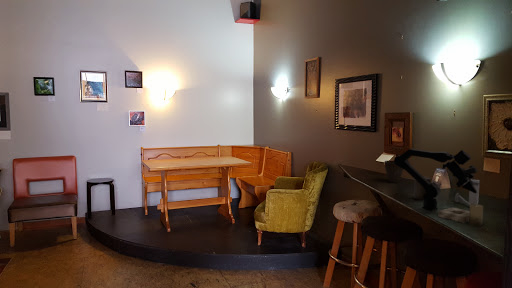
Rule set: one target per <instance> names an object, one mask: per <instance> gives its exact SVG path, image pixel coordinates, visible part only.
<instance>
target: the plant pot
mask: <svg viewBox="0 0 512 288" xmlns="http://www.w3.org/2000/svg"><path fill="white" fill-rule="evenodd" d="M384 168H385V172H386V176H387V180H388V182H389V183H395V184H396V183H399V182H400V181H401V177H402V174H403V171H404V169H402V168H400V167H399V166H397V165H396V164H395V163H394V160H385V161H384Z"/></svg>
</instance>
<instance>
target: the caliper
mask: <svg viewBox="0 0 512 288" xmlns="http://www.w3.org/2000/svg"><path fill="white" fill-rule="evenodd" d="M454 202H455V203H459V202H460V203H463V204H465V205H466V206H468V207H469V208H470V205H471V204H469V201H467V200H466V199H464V197H462V196H461V195H460V193H459V192H456V194H455V196H454Z"/></svg>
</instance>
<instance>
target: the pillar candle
mask: <svg viewBox="0 0 512 288" xmlns="http://www.w3.org/2000/svg"><path fill="white" fill-rule="evenodd" d="M423 177H424V178H425V179H426V180H427V181H429V182H431V181H432V180H431V178H430V177H427V176H423ZM431 183H432V182H431ZM413 191H414V192H413V194H414V195H413V197H414V199H416V200H421V201H424V198H423V195H424V194H426V192H425V190H424V188H423V186H422V185H421V184H420V183H418V182H417V181H416V180H415V179H414V189H413Z"/></svg>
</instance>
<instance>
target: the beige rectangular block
mask: <svg viewBox="0 0 512 288" xmlns="http://www.w3.org/2000/svg"><path fill="white" fill-rule="evenodd" d="M469 211H470V213H469V221H468V225H469V226H471V227H483V220H484V219H483V217H484V216H483V215H484V205H482V204H471V205H470V207H469Z"/></svg>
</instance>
